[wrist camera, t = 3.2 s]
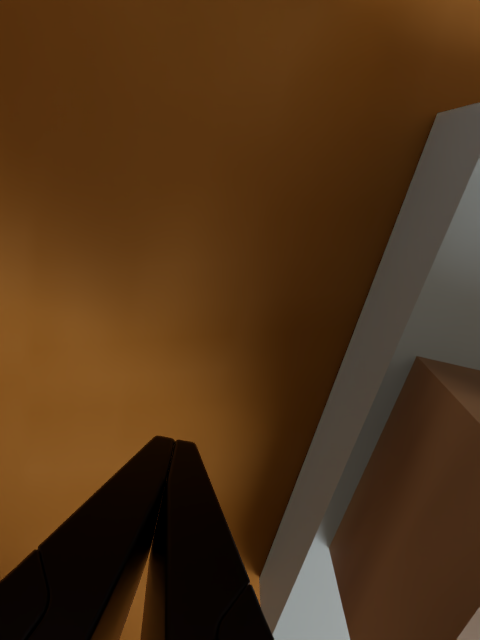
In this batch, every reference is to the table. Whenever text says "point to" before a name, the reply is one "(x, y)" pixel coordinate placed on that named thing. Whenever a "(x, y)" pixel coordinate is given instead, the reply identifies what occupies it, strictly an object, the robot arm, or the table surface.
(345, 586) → the walnut block
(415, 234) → the deck
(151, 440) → the robot arm
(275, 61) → the table surface
